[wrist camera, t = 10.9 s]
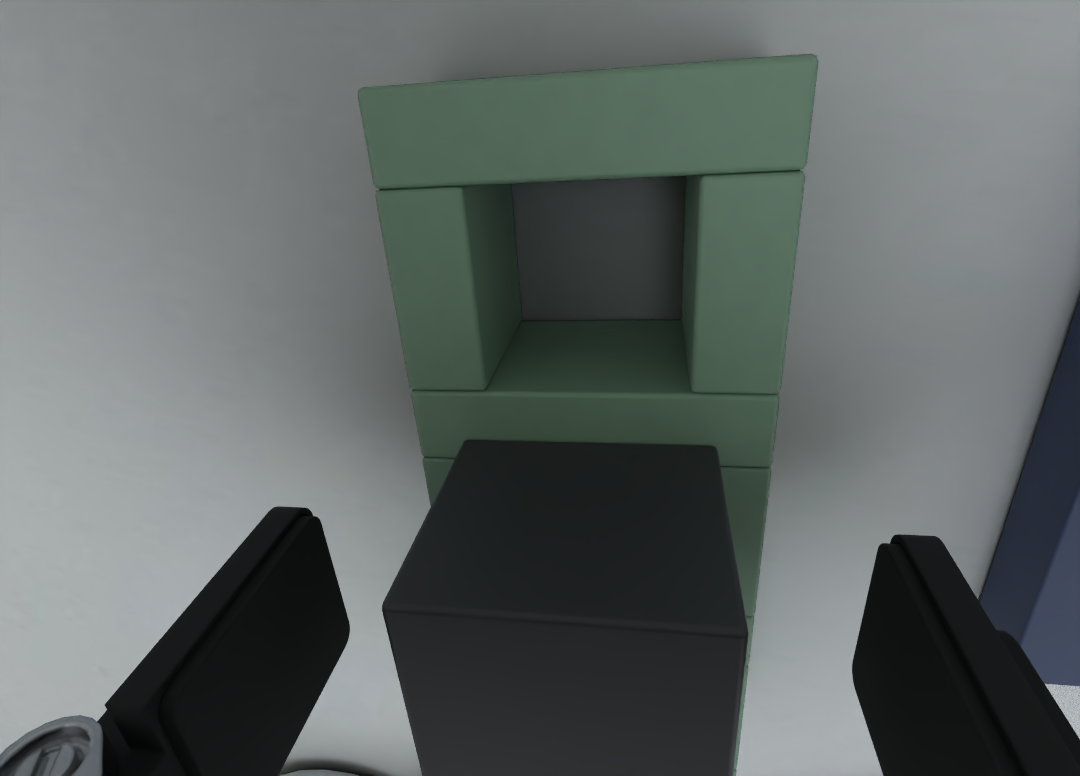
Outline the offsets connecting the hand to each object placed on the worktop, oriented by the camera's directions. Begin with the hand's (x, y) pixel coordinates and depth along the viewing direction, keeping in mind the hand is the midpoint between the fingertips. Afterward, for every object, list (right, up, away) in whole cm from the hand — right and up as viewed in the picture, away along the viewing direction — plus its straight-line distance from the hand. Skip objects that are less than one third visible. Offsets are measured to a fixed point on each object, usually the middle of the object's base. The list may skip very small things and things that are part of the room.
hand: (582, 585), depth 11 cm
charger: (+1, +2, +4) cm, 4 cm away
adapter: (+1, +2, +4) cm, 5 cm away
